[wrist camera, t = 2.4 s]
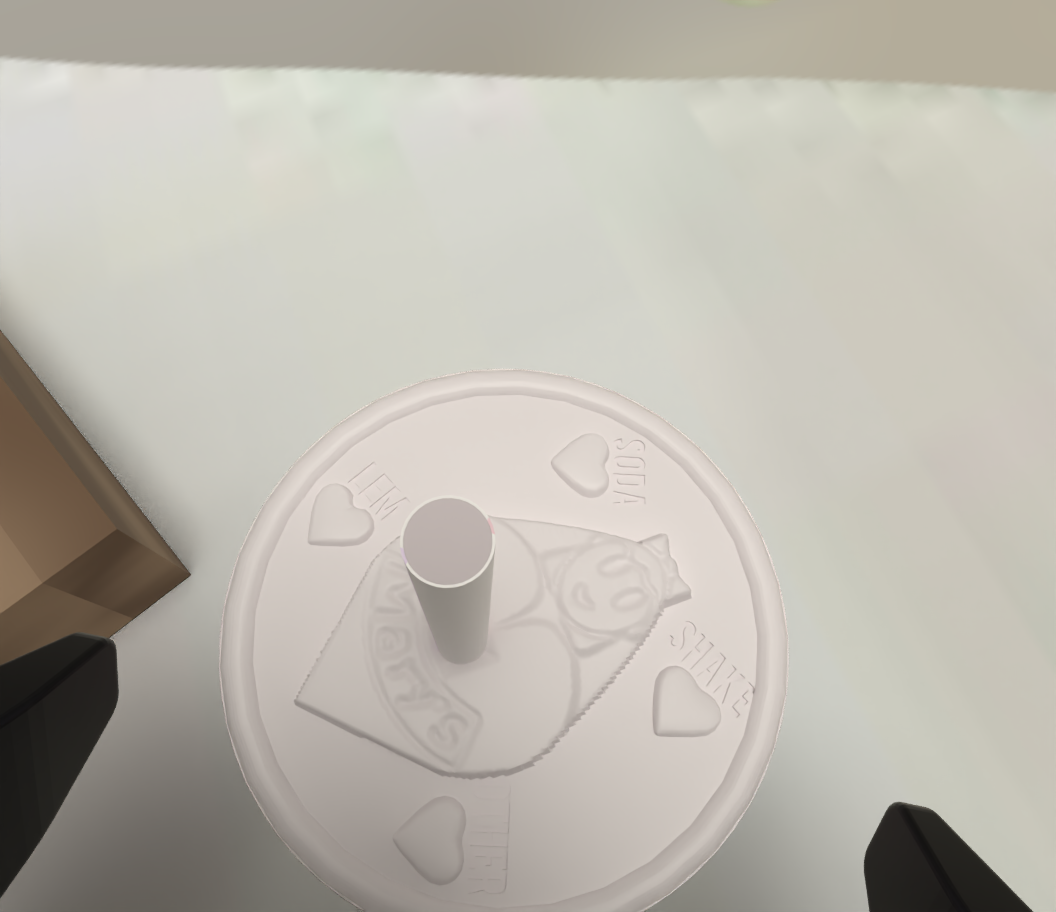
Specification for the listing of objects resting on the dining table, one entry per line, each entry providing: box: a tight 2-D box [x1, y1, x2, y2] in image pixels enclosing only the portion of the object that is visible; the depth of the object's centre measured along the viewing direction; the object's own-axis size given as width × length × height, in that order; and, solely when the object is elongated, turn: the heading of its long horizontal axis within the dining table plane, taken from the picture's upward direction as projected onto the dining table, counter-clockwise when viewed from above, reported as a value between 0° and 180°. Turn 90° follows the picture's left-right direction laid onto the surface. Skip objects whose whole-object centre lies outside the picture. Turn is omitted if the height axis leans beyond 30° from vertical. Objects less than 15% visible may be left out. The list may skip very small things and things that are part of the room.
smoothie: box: [219, 369, 789, 912], centre depth 11 cm, size 6×6×14 cm
